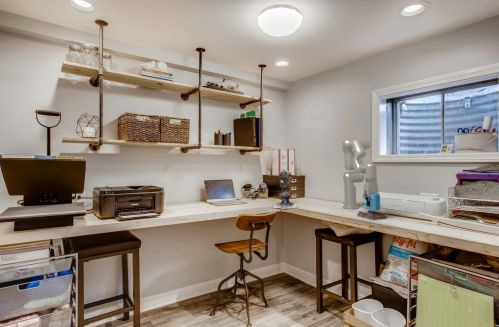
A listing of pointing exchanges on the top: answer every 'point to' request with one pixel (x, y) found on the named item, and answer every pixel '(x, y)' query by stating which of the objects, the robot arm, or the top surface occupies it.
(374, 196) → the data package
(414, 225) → the top surface
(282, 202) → the dark grey statue
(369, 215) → the display riser
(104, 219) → the top surface
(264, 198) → the top surface
